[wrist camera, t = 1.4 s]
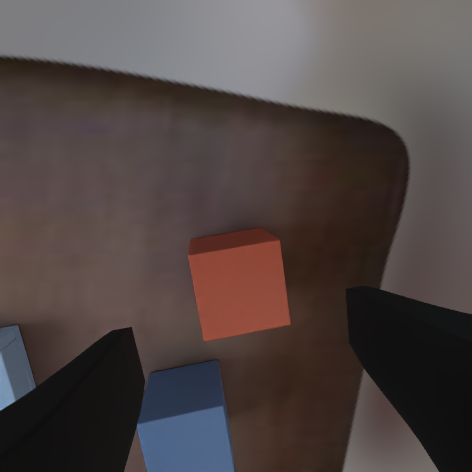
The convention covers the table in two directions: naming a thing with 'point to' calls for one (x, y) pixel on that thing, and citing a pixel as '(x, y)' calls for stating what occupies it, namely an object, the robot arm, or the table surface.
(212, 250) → the red block
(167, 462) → the blue block
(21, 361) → the blue tray
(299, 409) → the table surface
